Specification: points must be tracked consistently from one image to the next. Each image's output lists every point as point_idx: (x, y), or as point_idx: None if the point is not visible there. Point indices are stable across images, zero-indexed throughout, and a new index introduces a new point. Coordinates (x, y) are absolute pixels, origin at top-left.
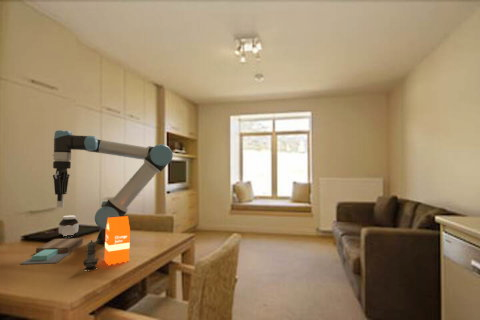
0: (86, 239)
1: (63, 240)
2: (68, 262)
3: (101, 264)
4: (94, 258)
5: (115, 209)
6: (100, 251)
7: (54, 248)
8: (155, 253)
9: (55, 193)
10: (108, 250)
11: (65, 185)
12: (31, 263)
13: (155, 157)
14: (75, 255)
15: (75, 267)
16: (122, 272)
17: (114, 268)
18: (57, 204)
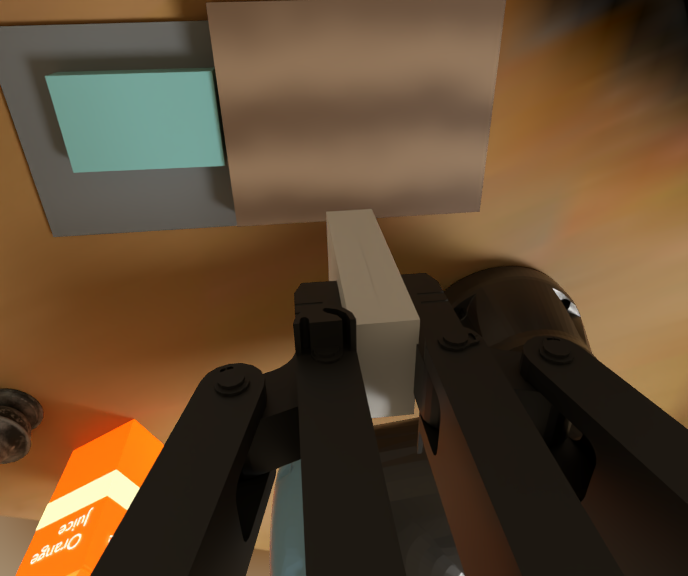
0: (582, 176)
1: (433, 102)
2: (82, 287)
3: (80, 425)
4: None
5: None
6: (283, 354)
7: (226, 139)
8: None
9: (225, 369)
10: (48, 506)
11: (630, 563)
12: (6, 101)
13: None
14: (206, 267)
15: (16, 348)
16: (5, 512)
17: (41, 479)
18: (330, 238)
